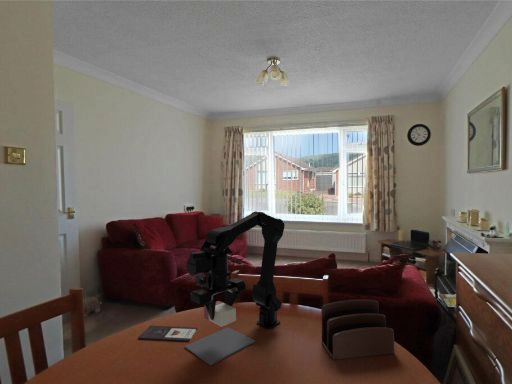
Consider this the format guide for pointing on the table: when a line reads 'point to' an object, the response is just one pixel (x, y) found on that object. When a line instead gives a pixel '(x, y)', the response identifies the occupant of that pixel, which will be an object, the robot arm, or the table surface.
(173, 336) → the chocolate bar
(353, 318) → the letter holder
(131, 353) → the table surface
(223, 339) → the mat
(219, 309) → the card box
